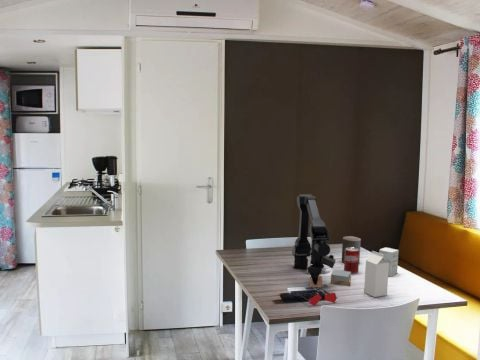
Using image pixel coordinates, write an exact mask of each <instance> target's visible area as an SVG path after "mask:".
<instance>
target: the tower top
mask: <svg viewBox="0 0 480 360" xmlns="http://www.w3.org/2000/svg"><path fill="white" fill-rule="evenodd" d="M351 275H352V274H351V272H348V271H344V270H339V269H334V270H333V271H332V273H331V275H330V281H331V280H337V281H345V282H348V281H349V279H350V277H351V278H352V276H351Z"/></svg>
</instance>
